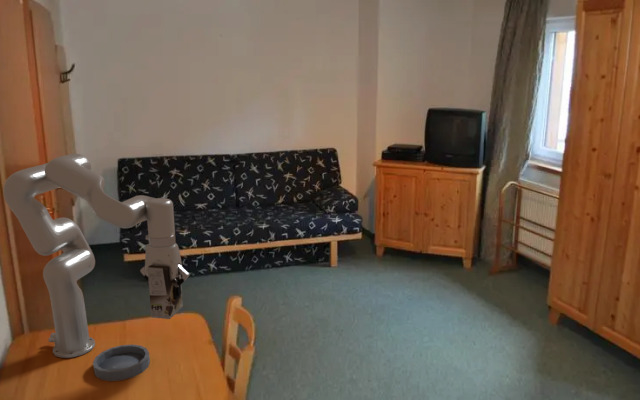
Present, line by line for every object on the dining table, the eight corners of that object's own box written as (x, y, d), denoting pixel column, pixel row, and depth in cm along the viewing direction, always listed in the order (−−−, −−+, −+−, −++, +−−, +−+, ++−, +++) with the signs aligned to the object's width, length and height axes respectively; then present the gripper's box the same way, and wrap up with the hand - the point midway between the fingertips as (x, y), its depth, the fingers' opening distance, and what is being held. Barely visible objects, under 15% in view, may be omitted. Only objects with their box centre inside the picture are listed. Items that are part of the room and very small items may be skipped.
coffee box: (170, 319, 167) (167, 268, 163) (150, 317, 169) (146, 266, 165) (183, 306, 176) (180, 257, 172) (164, 304, 177) (161, 256, 173)
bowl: (83, 376, 167) (81, 367, 166) (115, 350, 182) (114, 342, 181) (129, 383, 163) (128, 374, 162) (159, 356, 177) (158, 347, 177)
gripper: (129, 241, 165) (134, 298, 170) (182, 247, 161) (186, 305, 165) (143, 234, 172) (147, 288, 177) (195, 239, 168) (198, 294, 172)
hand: (166, 296), depth 171 cm, fingers closed on coffee box, 6 cm apart
